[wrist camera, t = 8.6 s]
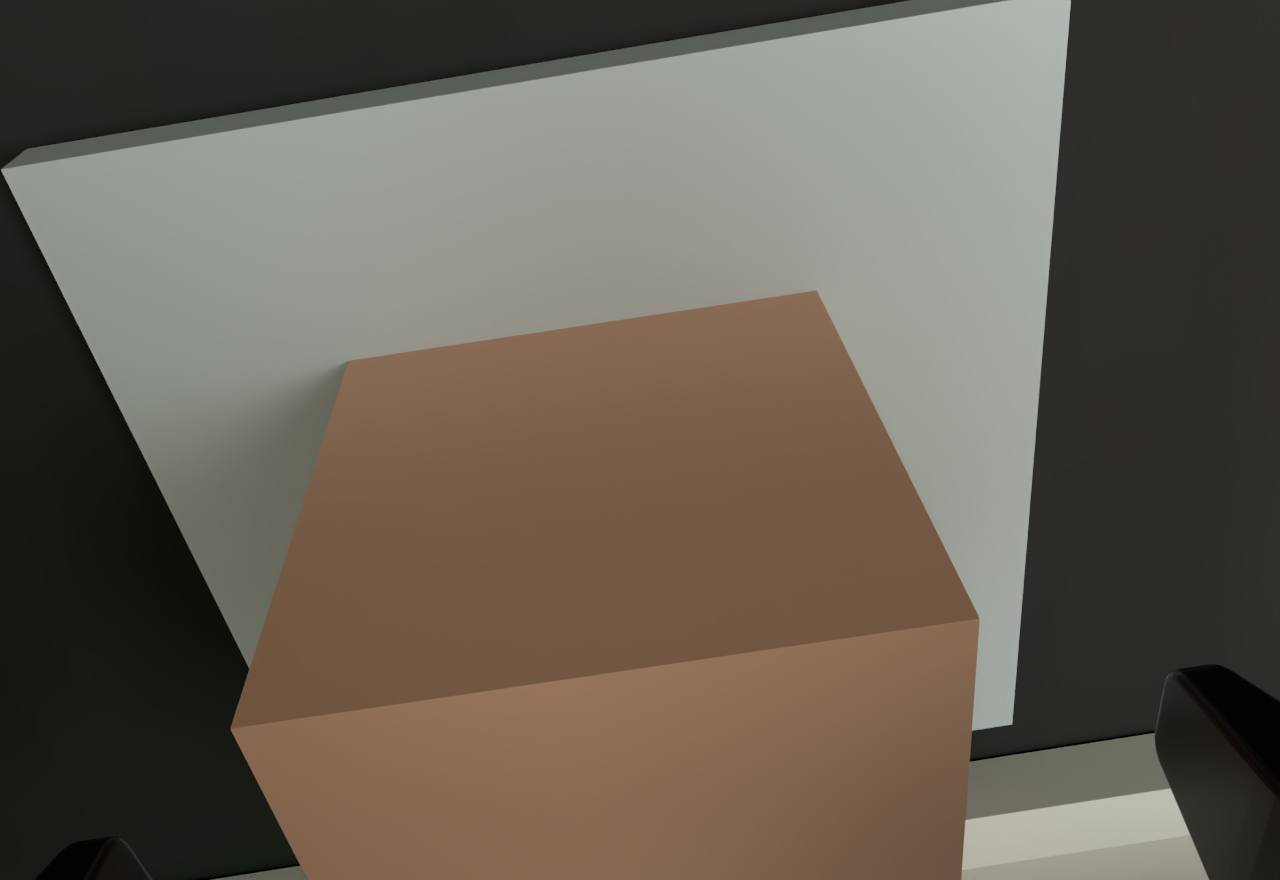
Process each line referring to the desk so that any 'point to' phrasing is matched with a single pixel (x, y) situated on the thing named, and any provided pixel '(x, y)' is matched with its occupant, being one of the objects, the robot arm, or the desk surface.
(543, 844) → the plain cardboard-brown cube
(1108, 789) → the off-white ledge rack
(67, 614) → the desk surface
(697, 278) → the pad
